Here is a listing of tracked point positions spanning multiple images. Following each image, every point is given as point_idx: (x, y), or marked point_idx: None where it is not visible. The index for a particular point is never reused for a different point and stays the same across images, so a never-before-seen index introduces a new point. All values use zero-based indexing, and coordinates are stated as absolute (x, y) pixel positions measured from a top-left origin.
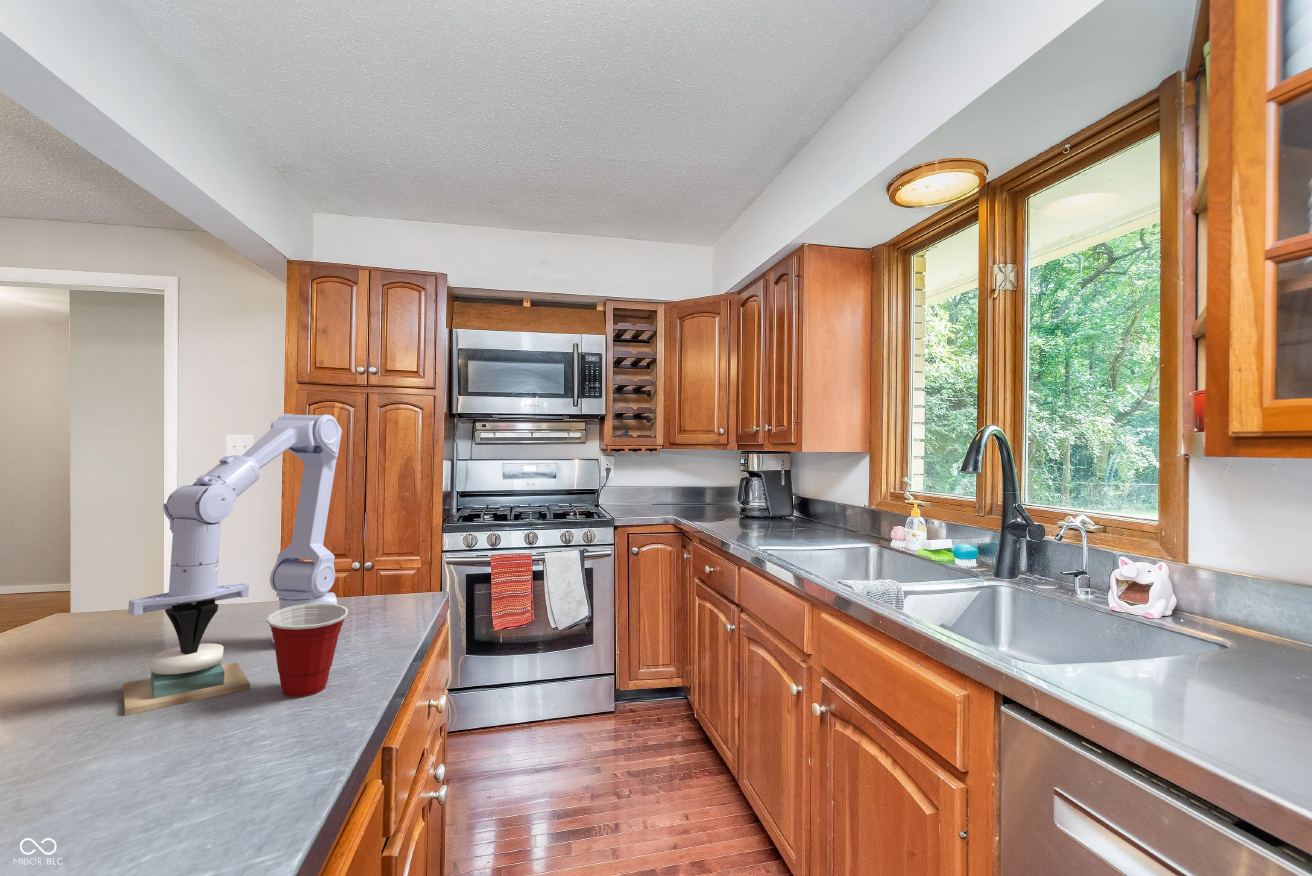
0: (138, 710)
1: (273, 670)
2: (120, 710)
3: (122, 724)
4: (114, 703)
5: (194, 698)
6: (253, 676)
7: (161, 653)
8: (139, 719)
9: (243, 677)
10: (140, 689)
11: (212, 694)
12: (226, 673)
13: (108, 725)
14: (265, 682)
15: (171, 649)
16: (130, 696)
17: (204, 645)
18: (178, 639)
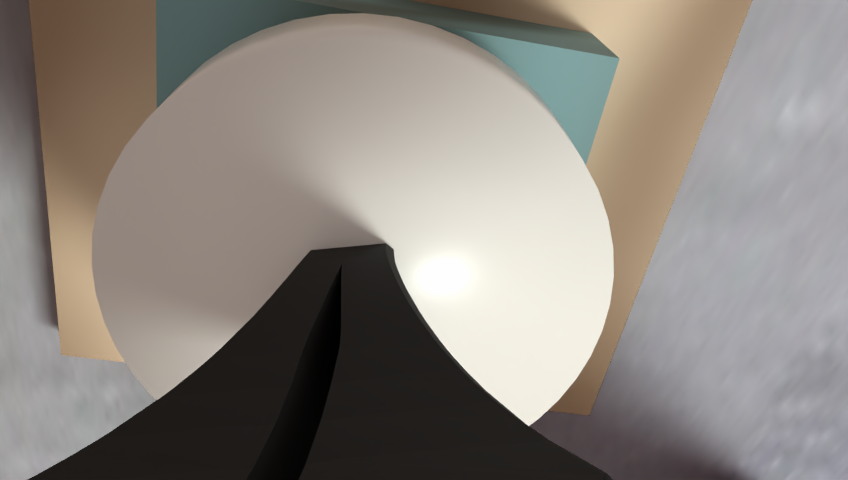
0: None
1: (819, 217)
2: (51, 252)
3: (70, 422)
4: (13, 114)
5: None
6: (695, 236)
7: (165, 169)
8: (130, 416)
9: (616, 313)
10: (127, 82)
11: None
12: (594, 172)
13: (19, 396)
14: (673, 365)
15: (256, 98)
16: (75, 179)
17: (515, 191)
18: (264, 305)
